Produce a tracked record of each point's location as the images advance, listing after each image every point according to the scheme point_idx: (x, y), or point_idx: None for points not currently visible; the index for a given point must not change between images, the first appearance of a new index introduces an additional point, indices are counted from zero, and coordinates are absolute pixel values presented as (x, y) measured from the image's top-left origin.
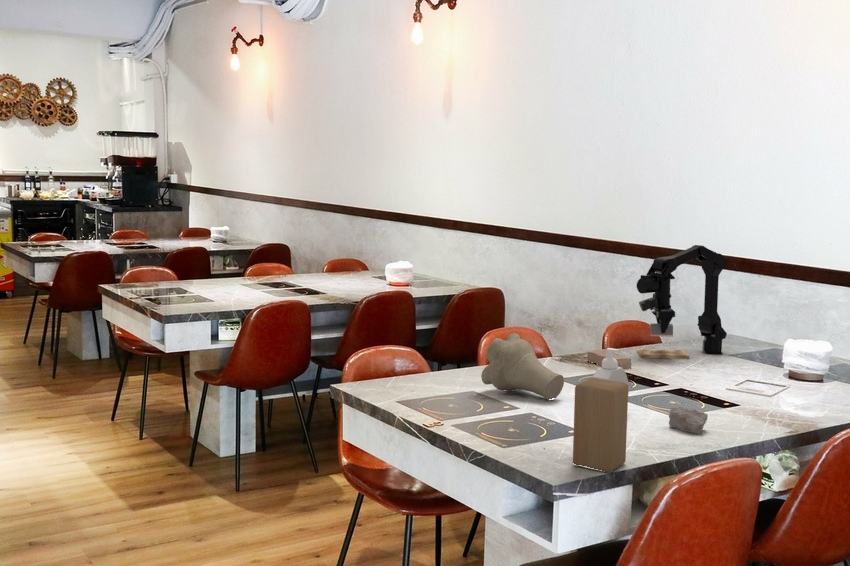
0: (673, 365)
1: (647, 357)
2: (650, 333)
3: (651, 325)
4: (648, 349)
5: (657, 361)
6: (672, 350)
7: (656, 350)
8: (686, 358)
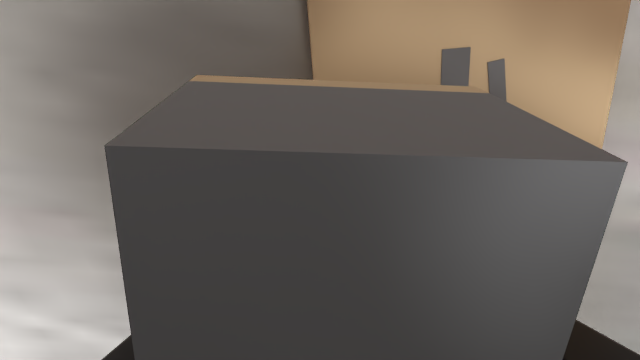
0: (13, 218)
1: (307, 5)
2: (443, 87)
3: (177, 161)
4: (620, 48)
5: (149, 94)
6: None
7: (561, 128)
8: None
